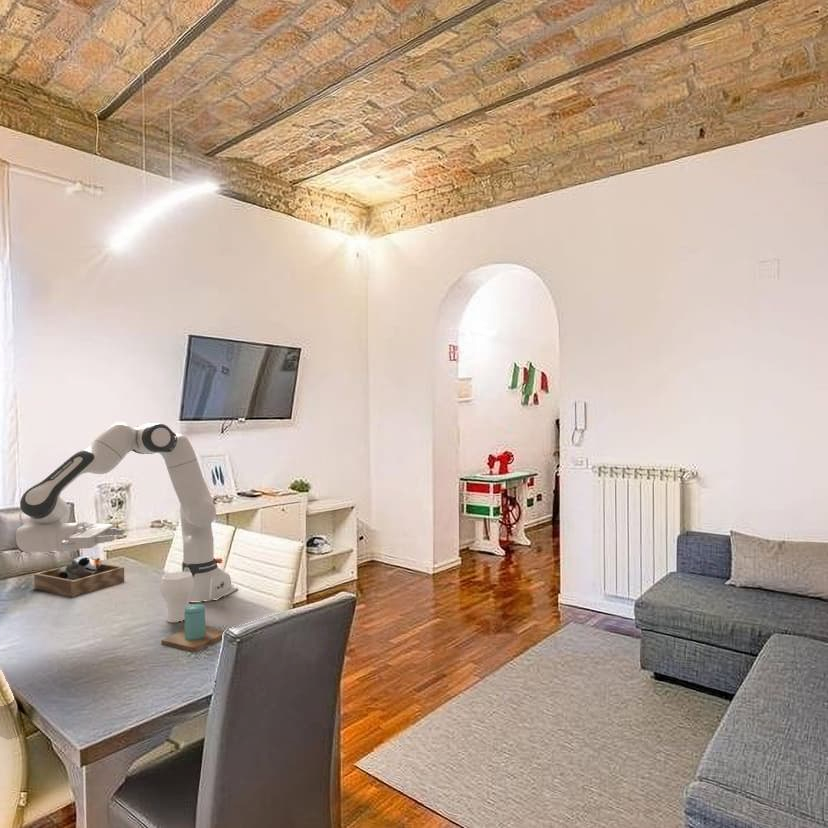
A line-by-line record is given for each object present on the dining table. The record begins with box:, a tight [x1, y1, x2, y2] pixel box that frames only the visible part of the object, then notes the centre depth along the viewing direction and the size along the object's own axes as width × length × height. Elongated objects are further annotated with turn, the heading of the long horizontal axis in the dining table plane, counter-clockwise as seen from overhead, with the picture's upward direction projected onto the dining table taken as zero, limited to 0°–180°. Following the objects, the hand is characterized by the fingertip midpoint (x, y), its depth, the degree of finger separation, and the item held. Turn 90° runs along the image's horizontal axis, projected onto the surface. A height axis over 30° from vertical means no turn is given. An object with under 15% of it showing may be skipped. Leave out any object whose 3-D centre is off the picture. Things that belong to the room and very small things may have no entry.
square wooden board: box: [160, 626, 225, 653], centre depth 185 cm, size 14×14×5 cm
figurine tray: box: [33, 562, 125, 598], centre depth 245 cm, size 22×25×6 cm
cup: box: [160, 571, 194, 623], centre depth 204 cm, size 11×11×15 cm
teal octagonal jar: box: [184, 603, 207, 640], centre depth 185 cm, size 6×6×9 cm
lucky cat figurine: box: [54, 555, 102, 580], centre depth 248 cm, size 15×12×14 cm
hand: (118, 534), depth 191 cm, fingers open, 8 cm apart
